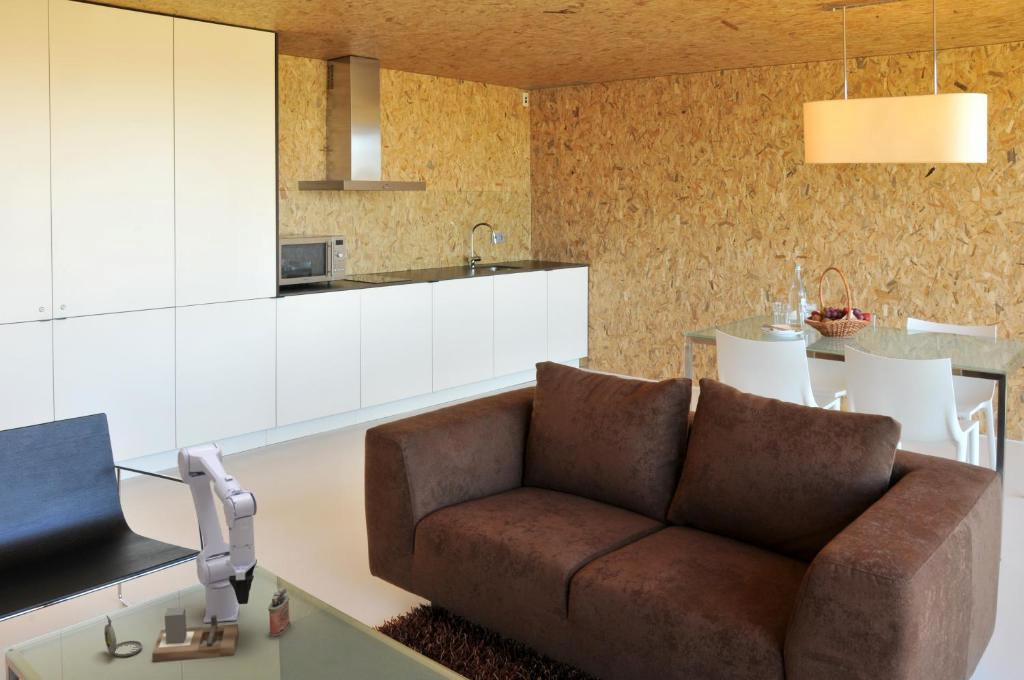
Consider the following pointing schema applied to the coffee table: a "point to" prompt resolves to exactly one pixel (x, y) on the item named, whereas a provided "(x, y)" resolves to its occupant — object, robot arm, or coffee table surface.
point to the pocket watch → (112, 646)
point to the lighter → (279, 614)
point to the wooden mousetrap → (198, 643)
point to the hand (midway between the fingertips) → (244, 596)
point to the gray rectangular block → (175, 625)
